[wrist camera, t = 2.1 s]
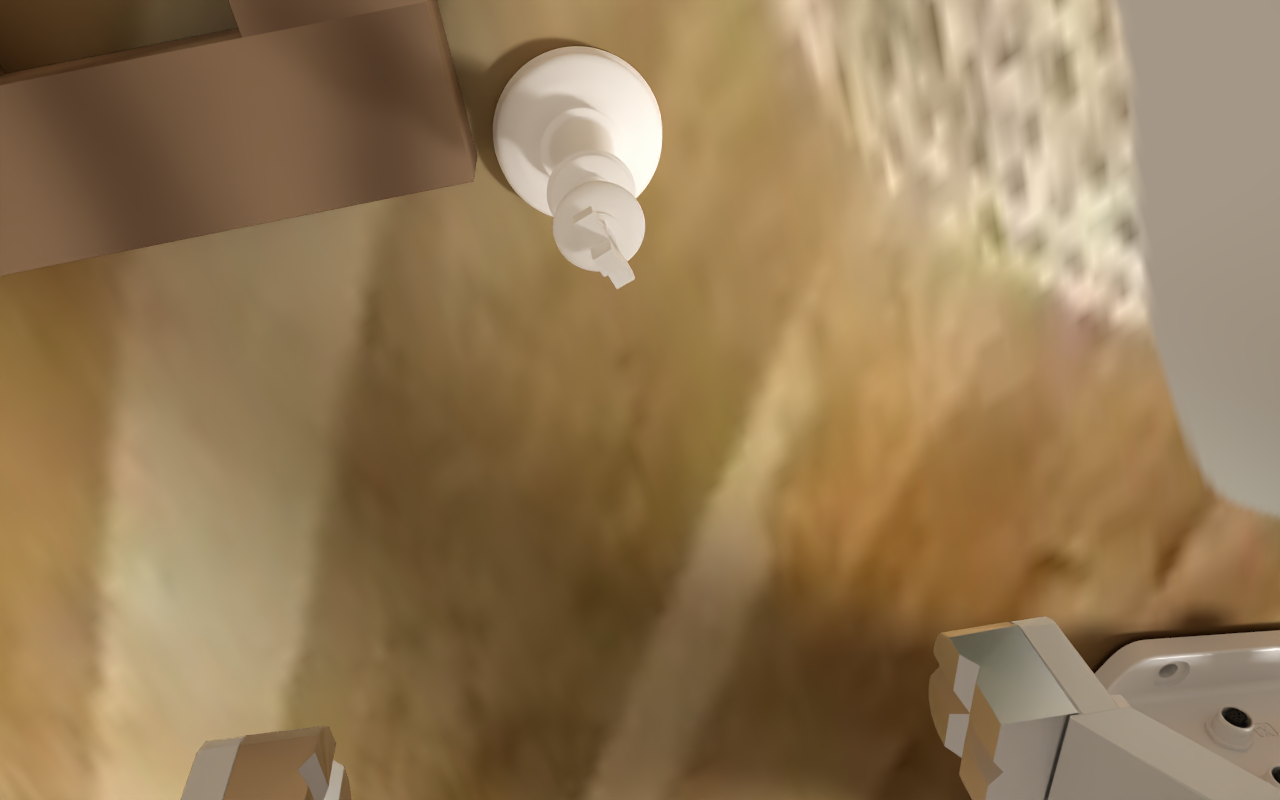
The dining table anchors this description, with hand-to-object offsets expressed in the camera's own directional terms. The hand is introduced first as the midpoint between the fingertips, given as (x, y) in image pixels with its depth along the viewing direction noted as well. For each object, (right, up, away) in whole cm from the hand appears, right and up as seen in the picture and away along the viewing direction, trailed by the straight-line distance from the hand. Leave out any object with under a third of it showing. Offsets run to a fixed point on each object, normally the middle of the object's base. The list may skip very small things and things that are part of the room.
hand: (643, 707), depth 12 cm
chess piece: (-2, +12, +15) cm, 19 cm away
